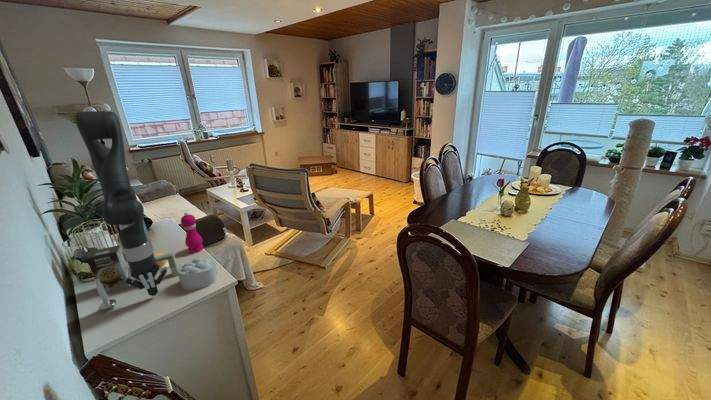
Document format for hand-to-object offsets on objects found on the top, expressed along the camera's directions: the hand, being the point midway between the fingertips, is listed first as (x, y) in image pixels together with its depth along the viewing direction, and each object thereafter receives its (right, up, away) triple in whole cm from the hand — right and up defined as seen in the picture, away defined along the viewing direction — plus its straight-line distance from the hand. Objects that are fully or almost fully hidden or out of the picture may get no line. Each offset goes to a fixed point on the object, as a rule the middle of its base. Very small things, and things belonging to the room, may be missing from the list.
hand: (154, 294), depth 106 cm
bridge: (-6, +3, +11) cm, 13 cm away
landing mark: (-13, +7, +22) cm, 27 cm away
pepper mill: (-2, +11, +32) cm, 34 cm away
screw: (-13, -4, -4) cm, 14 cm away
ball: (-12, +9, +19) cm, 24 cm away
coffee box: (-20, +1, +8) cm, 22 cm away
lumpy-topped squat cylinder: (+12, +2, +9) cm, 15 cm away
